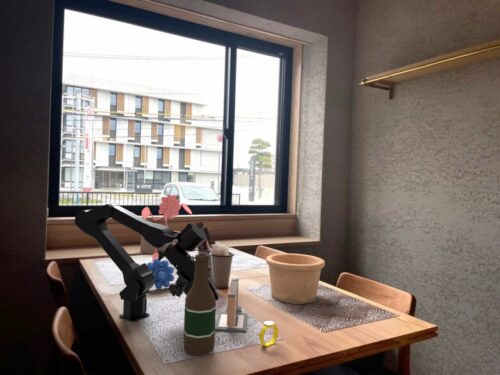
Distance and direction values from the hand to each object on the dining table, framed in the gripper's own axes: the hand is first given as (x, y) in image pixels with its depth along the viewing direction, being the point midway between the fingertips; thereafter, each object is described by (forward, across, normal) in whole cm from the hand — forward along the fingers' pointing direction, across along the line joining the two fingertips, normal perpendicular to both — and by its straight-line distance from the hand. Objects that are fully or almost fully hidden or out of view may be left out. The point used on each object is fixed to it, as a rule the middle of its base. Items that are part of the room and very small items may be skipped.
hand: (217, 299), depth 113 cm
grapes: (-13, -31, -23) cm, 41 cm away
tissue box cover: (-24, -109, -35) cm, 117 cm away
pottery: (+24, -29, +13) cm, 40 cm away
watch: (+16, +13, +5) cm, 21 cm away
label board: (+8, -4, -2) cm, 9 cm away
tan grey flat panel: (+7, -4, -1) cm, 8 cm away
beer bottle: (+3, +18, -7) cm, 19 cm away
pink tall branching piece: (-17, -70, -27) cm, 78 cm away
